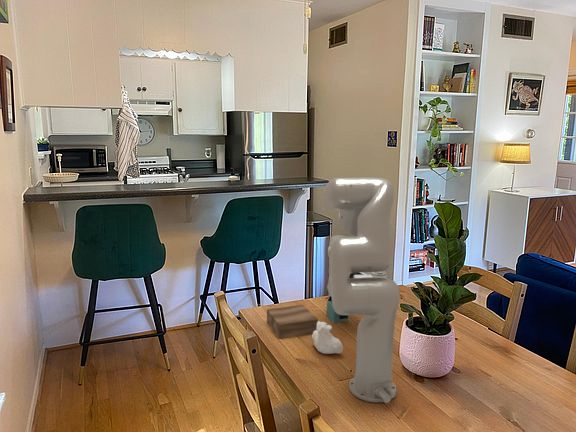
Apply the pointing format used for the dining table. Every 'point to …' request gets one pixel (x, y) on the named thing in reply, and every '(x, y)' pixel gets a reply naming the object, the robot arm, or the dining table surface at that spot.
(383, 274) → the can
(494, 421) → the dining table surface
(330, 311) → the teal cube
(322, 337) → the bust
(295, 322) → the walnut block
